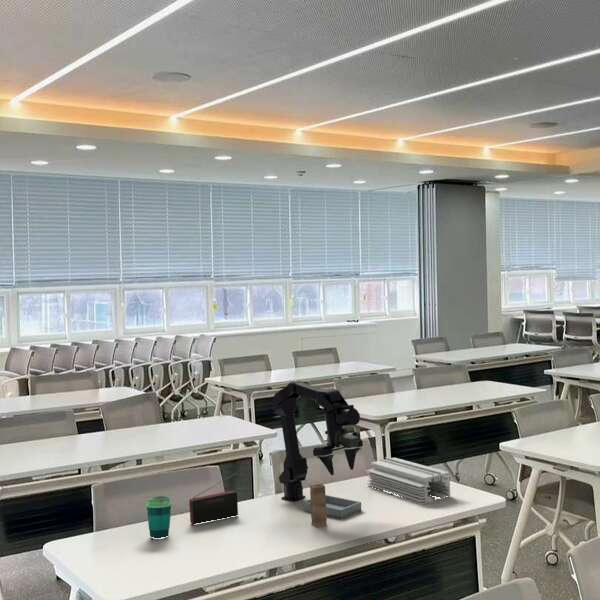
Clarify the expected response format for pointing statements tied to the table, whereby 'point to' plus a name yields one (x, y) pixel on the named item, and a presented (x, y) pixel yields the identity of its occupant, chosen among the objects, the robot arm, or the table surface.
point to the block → (318, 505)
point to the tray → (337, 507)
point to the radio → (213, 506)
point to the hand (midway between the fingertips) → (342, 472)
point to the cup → (159, 516)
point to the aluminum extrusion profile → (409, 480)
